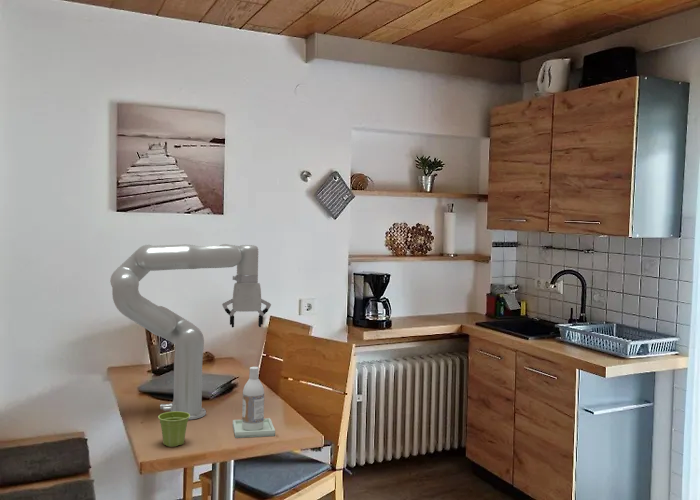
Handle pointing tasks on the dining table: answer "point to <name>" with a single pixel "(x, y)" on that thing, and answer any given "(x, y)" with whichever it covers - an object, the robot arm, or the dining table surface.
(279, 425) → the dining table surface
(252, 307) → the robot arm
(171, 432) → the plant pot
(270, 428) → the tray
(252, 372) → the bath foam
